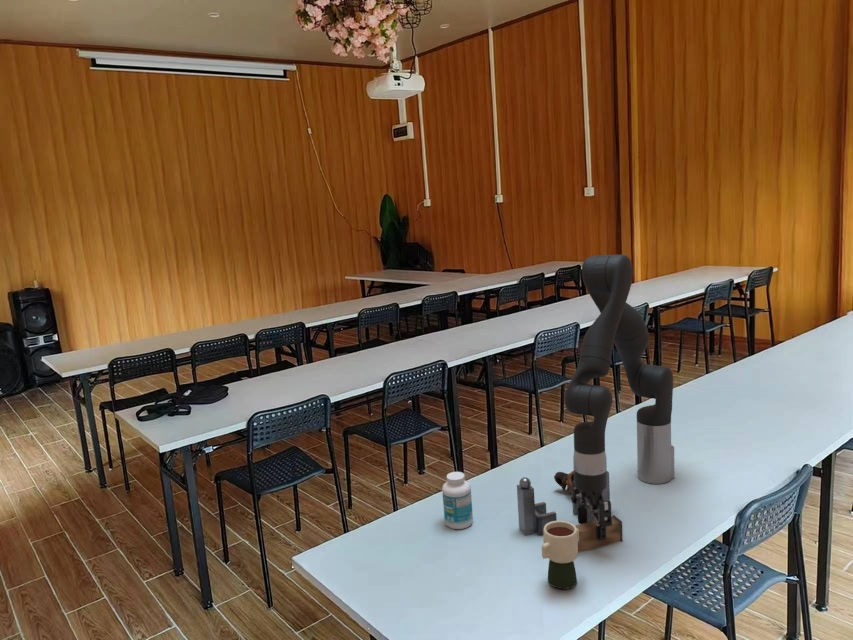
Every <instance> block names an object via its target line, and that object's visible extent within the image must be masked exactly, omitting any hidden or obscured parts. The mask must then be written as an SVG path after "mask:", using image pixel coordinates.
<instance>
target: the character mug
mask: <svg viewBox="0 0 853 640" xmlns="http://www.w3.org/2000/svg"><path fill="white" fill-rule="evenodd" d="M543 532H544V535H543V544H541V556H542V559H548V560H549V561H548V570H547V583H548V584H550V586H553V587H555V588H558V589H559V588H560V589H572V588H574V587H575V586H576V585H577V583H578V578H577V571H576V567H575V566H576V565H575V562H574V561H576V560H577V558H578V553H579V552H578V541H579V530H578V528H576V526H575V524H573V523H572V522H569V521H566V520H557V521H552V522H549V523H547V524H546V525H545V526H544V530H543Z"/></svg>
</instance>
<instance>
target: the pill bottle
mask: <svg viewBox="0 0 853 640" xmlns="http://www.w3.org/2000/svg"><path fill="white" fill-rule="evenodd" d="M465 477H466V476H465V473H464V472H462V471H452V472H449V473H447V474H446V482H444V483H443V484H442V488H441V490H442V502H443V503H442V504H443V505H442V506H443V513H444V514H443V518H444V523H445V525H446V527H448V528H450V529H452V530H464V529H466V528H468V527H470V526H472V524H473V520H474V519H473V518H474V516H473V504H472V503H473V502H472V487H471V485H470V483H469V482H468V481H467V480H466V478H465Z"/></svg>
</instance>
